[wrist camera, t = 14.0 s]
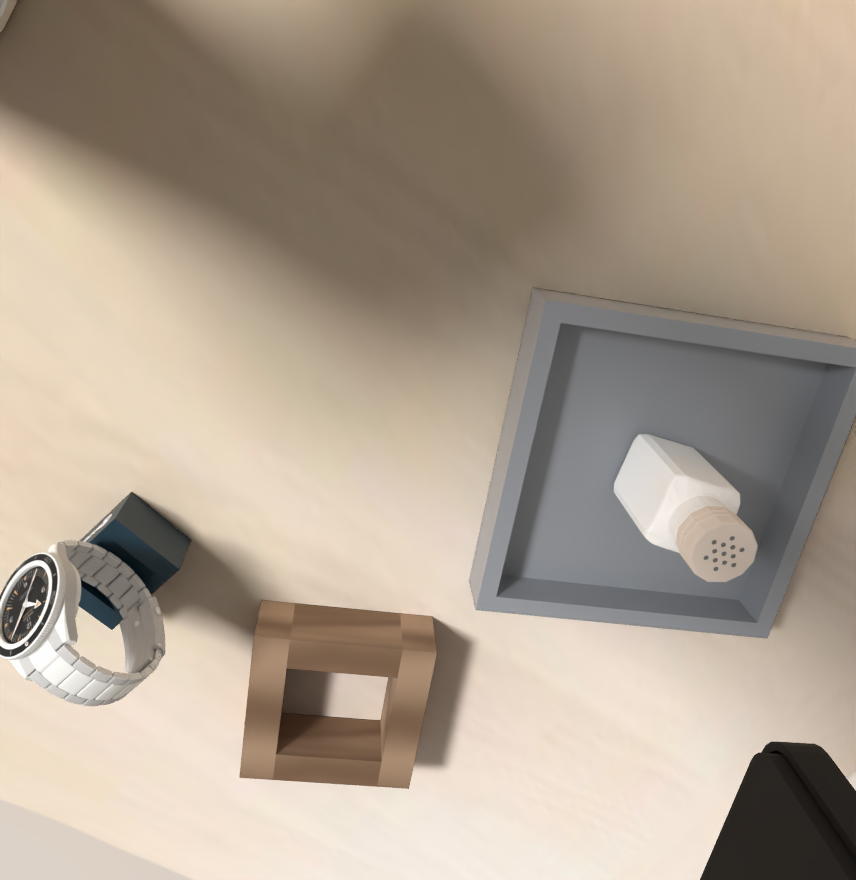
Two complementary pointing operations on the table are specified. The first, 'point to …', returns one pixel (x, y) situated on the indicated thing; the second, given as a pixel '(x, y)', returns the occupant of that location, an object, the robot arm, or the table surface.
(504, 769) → the table surface
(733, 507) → the salt shaker
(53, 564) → the watch
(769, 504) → the tray
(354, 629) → the shaker holder
